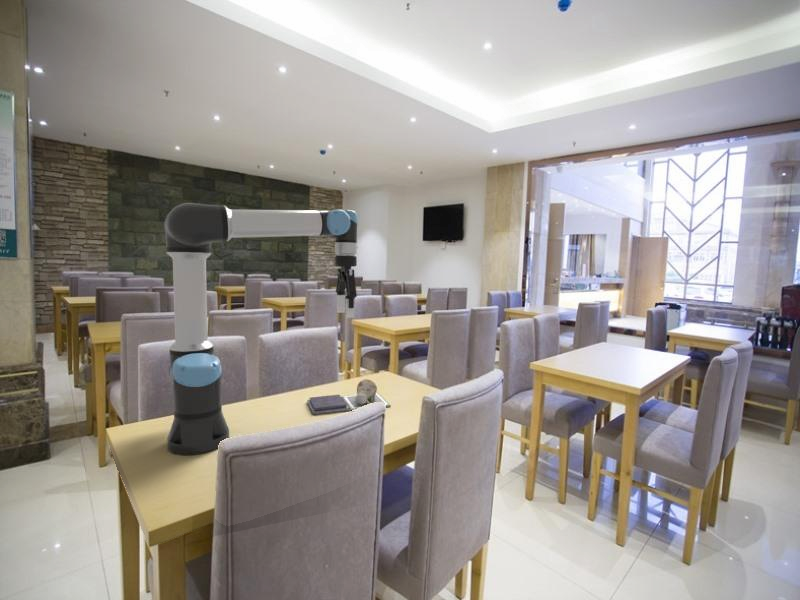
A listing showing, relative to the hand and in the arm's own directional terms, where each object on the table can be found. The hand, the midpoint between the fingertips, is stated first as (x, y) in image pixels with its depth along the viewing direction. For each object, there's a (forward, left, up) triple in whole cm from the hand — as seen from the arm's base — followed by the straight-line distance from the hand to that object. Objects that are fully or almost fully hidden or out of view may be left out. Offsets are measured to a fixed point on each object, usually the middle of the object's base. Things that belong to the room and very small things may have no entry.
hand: (345, 315), depth 146 cm
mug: (+6, -7, -30) cm, 32 cm away
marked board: (+6, -6, -31) cm, 32 cm away
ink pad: (-8, -6, -31) cm, 32 cm away
